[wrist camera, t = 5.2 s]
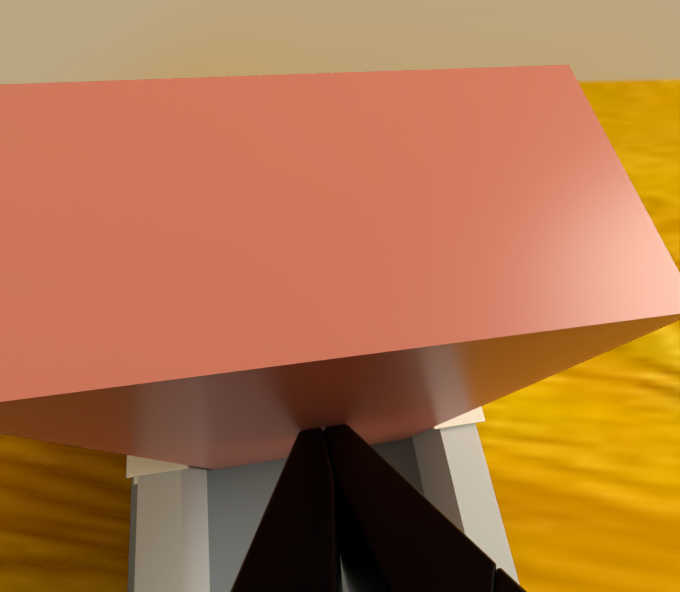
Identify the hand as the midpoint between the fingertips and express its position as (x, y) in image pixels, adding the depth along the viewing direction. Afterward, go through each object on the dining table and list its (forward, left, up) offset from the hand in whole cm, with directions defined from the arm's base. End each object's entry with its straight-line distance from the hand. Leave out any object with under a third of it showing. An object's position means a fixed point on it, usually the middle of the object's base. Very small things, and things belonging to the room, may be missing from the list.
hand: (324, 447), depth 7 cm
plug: (+2, 0, -6) cm, 7 cm away
